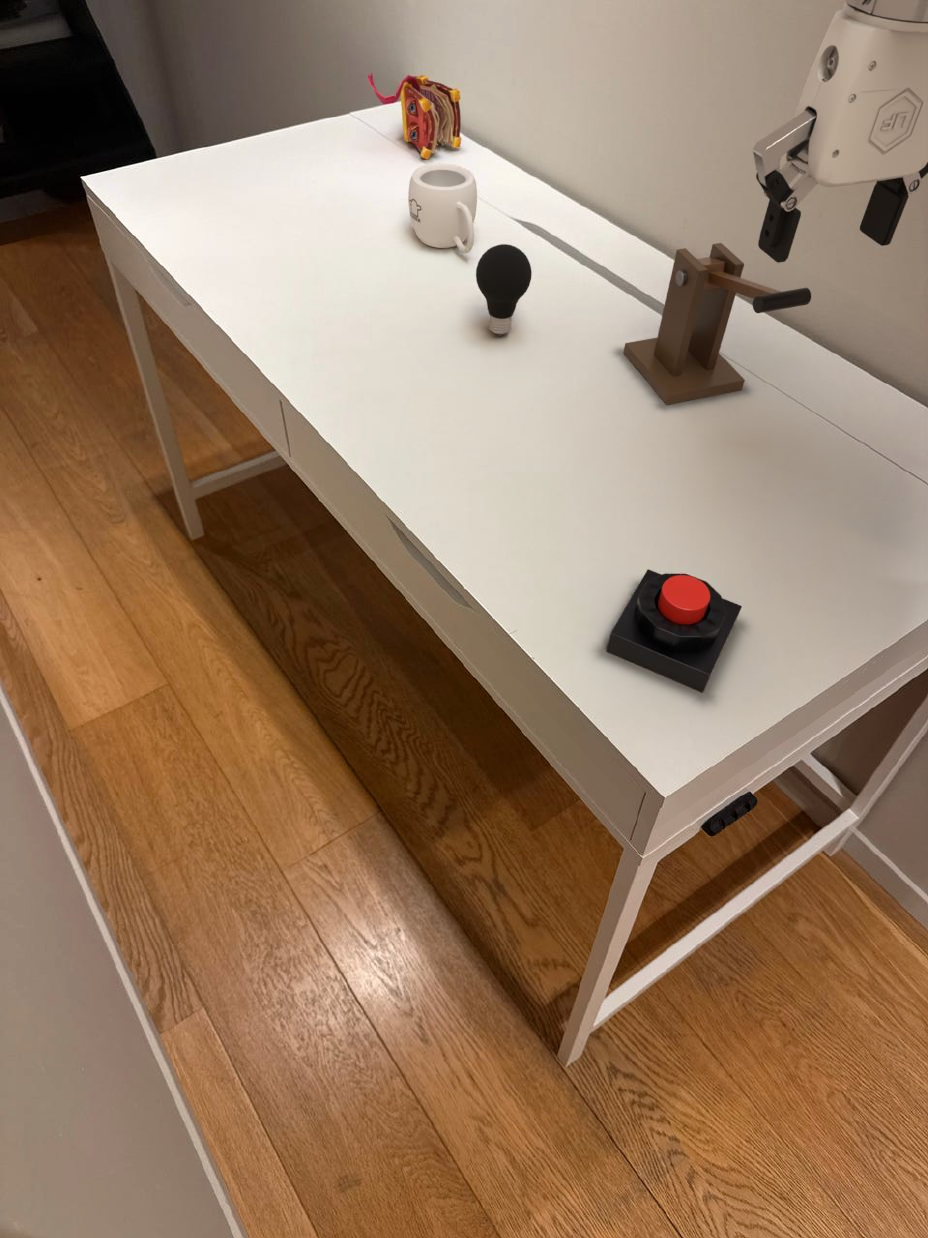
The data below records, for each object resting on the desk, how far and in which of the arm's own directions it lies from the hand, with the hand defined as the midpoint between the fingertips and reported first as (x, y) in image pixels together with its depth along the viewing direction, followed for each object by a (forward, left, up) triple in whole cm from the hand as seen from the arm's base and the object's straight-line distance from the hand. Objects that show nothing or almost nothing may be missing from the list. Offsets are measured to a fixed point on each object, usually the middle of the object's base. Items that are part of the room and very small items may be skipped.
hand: (823, 246), depth 71 cm
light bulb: (+31, -6, -21) cm, 37 cm away
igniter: (-1, +26, -21) cm, 34 cm away
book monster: (+65, -44, -21) cm, 81 cm away
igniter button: (-1, +26, -17) cm, 31 cm away
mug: (+46, -21, -21) cm, 54 cm away
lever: (+6, -6, -9) cm, 13 cm away
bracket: (+11, -10, -21) cm, 25 cm away
